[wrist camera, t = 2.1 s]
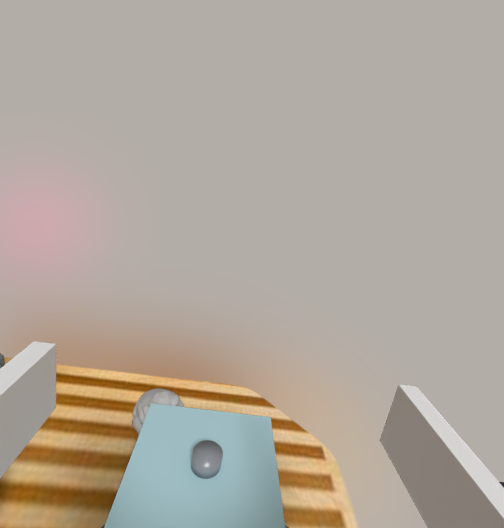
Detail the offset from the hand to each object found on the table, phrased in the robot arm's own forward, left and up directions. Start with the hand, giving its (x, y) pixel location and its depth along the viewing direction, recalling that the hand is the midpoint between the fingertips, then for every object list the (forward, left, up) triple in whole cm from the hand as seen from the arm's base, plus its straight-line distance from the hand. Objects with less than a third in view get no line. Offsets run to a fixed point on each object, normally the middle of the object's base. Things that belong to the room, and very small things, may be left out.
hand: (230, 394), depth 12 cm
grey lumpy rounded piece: (-17, +14, -25) cm, 33 cm away
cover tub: (-5, +8, -24) cm, 26 cm away
